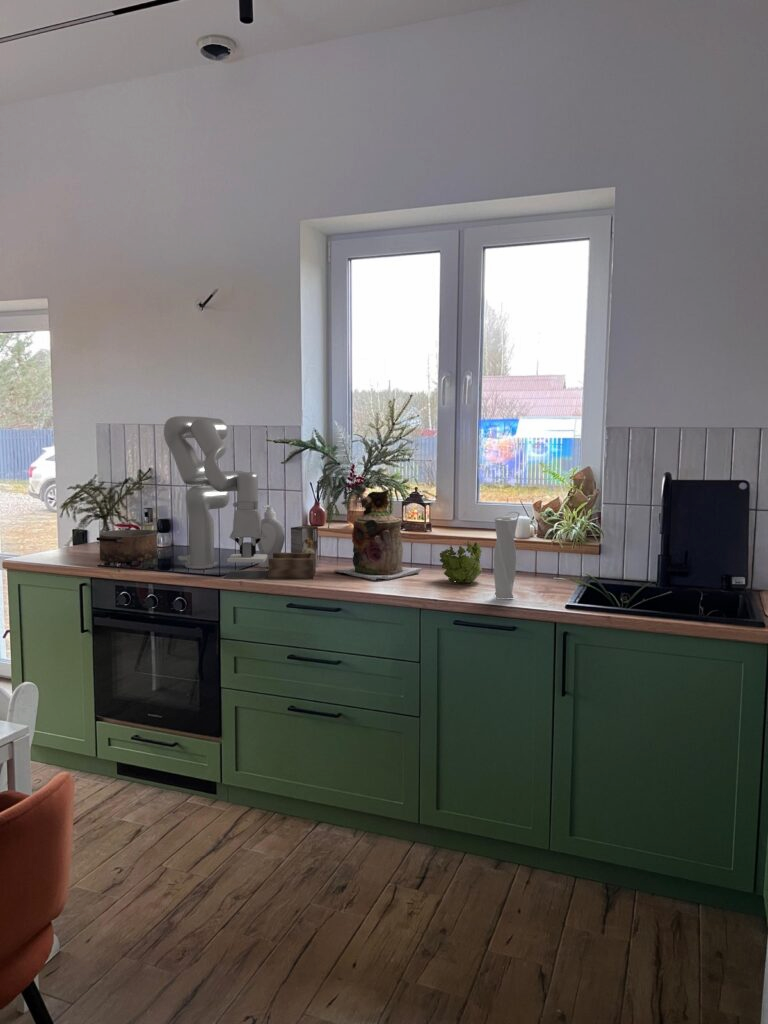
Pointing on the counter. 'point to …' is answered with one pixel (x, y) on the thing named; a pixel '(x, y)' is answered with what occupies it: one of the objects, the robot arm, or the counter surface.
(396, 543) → the rustic painted jar
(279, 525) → the soap bottle
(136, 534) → the cooking pot
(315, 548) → the coffee box
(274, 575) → the box
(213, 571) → the counter surface
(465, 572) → the green rounded bumpy piece
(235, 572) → the mat
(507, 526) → the white faceted vase
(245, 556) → the lid
